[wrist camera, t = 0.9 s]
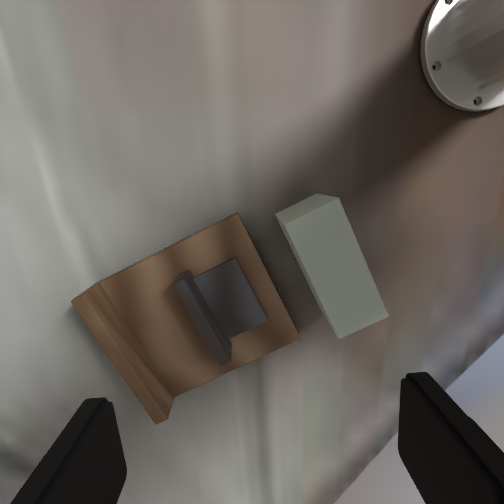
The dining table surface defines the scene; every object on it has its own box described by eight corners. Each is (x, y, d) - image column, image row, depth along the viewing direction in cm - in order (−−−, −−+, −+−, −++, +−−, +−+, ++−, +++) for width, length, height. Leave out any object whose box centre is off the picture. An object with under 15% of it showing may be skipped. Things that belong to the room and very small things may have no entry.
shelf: (237, 212, 34) (236, 217, 29) (298, 332, 37) (306, 355, 32) (94, 284, 35) (70, 301, 30) (166, 393, 38) (155, 424, 34)
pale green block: (316, 193, 34) (339, 197, 26) (357, 286, 36) (388, 316, 28) (274, 213, 34) (284, 224, 26) (318, 305, 37) (338, 339, 29)
